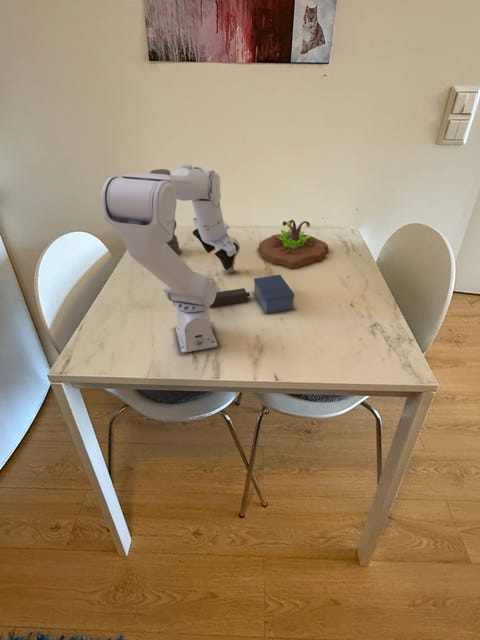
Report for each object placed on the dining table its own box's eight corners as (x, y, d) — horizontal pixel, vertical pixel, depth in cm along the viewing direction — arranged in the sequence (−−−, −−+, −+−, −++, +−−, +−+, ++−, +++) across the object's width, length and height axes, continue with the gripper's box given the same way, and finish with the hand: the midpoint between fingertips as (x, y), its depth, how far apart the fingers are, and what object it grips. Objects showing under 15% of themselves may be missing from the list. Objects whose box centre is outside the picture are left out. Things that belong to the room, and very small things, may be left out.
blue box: (293, 309, 103) (294, 294, 100) (265, 314, 101) (266, 298, 98) (279, 289, 111) (280, 274, 108) (253, 293, 109) (253, 278, 106)
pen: (247, 295, 108) (247, 287, 107) (250, 300, 106) (250, 292, 104) (203, 302, 105) (202, 294, 104) (205, 308, 103) (204, 299, 102)
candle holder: (183, 251, 130) (175, 170, 116) (170, 258, 126) (160, 176, 111) (168, 246, 133) (158, 167, 118) (155, 254, 129) (144, 173, 114)
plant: (247, 251, 129) (247, 217, 123) (289, 234, 140) (291, 202, 134) (295, 274, 117) (297, 237, 111) (336, 253, 128) (341, 219, 121)
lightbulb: (244, 272, 119) (244, 236, 112) (229, 279, 115) (228, 243, 109) (229, 265, 122) (228, 230, 116) (214, 272, 118) (212, 237, 112)
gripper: (243, 225, 88) (250, 266, 99) (205, 193, 95) (215, 235, 107) (217, 242, 86) (227, 282, 98) (180, 208, 93) (193, 249, 105)
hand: (219, 258), depth 102 cm, fingers open, 7 cm apart
